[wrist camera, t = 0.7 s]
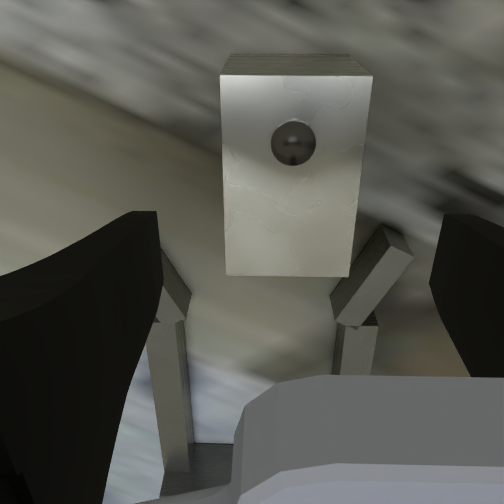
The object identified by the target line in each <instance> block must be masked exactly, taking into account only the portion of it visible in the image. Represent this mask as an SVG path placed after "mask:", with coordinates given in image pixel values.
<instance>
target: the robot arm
mask: <svg viewBox="0 0 504 504" xmlns="http://www.w3.org/2000/svg"><path fill="white" fill-rule="evenodd" d="M163 282H164V276H163V267H162V258H161V249H160V240H159V230H158V221H157V212H156V211H131V212H129V213H126V214H124V215H122V216H121V217H119V218H117V219H115V220H114V221H112V222H110V223H109V224H107V225H105V226H103V227H102V228H100V229H98V230H97V231H95V232H93V233H92V234H90V235H88V236H86V237H85V238H83V239H81V240H79V241H77V242H76V243H74V244H72V245H70V246H68V247H66V248H64V249H62V250H60V251H59V252H57V253H55V254H53V255H51V256H49V257H47V258H44V259H42V260H40V261H38V262H36V263H33V264H31V265H28V266H26V267H23V268H21V269H18V270H16V271H13V272H11V273H8V274H5V275H2V276H0V504H102V501H103V497H104V492H105V487H106V482H107V477H108V472H109V468H110V463H111V459H112V454H113V450H114V446H115V441H116V437H117V432H118V428H119V424H120V420H121V416H122V412H123V408H124V404H125V400H126V396H127V393H128V390H129V386H130V383H131V380H132V377H133V375H134V372H135V369H136V367H137V364H138V362H139V359H140V356H141V354H142V351H143V348H144V346H145V343H146V341H147V338H148V335H149V333H150V330H151V327H152V324H153V322H154V319H155V316H156V313H157V311H158V306H159V302H160V297H161V292H162V287H163ZM429 285H430V288H431V291H432V295H433V298H434V301H435V304H436V307H437V310H438V313H439V315H440V317H441V319H442V321H443V324H444V325H445V327H446V329H447V331H448V333H449V335H450V337H451V339H452V341H453V343H454V345H455V347H456V349H457V351H458V353H459V355H460V356H461V358H462V360H463V362H464V364H465V366H466V368H467V370H468V372H469V374H470V376H471V377H422V376H364V375H319V376H313V377H308V378H302V379H296V380H291V381H285V382H280V383H277V384H275V385H274V386H272V387H271V388H270V389H268V390H267V391H265V392H264V393H262V394H261V395H260V396H258V397H257V398H255V399H254V400H252V401H251V402H249V403H248V404H247V405H245V407H244V410H243V412H242V415H241V418H240V421H239V423H238V426H237V429H236V431H235V434H234V446H233V460H232V475H231V482H230V483H229V484H227V485H222V486H217V487H212V488H207V489H203V490H198V491H193V492H188V493H183V494H179V495H174V496H169V497H164V498H159V499H155V500H150V501H145V502H140V503H135V504H504V227H501V226H499V225H497V224H495V223H492V222H490V221H488V220H485V219H483V218H480V217H477V216H474V215H470V214H444V218H443V222H442V227H441V231H440V236H439V240H438V245H437V249H436V254H435V258H434V263H433V268H432V272H431V277H430V281H429Z"/></svg>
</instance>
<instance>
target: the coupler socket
mask: <svg viewBox="0 0 504 504" xmlns="http://www.w3.org/2000/svg"><path fill="white" fill-rule="evenodd" d="M160 249H161V248H160ZM161 258H162V267H163V276H164V282H163V287H162V292H161V297H160V302H159V306H158V311H157V313H156V316H155V319H154V322H153V324H152V327H151V330H150V333H149V335H148V338H147V341H146V347H147V354H148V361H149V368H150V375H151V381H152V388H153V395H154V402H155V409H156V416H157V423H158V430H159V437H160V444H161V451H162V458H163V465H164V477H163V482H162V487H161V491H160V498H164V497H169V496H174V495H179V494H183V493H188V492H193V491H198V490H203V489H207V488H212V487H217V486H222V485H227V484H229V483H230V482H231V475H232V460H233V446H234V444H195V442H194V431H193V420H192V409H191V398H190V387H189V376H188V365H187V354H186V343H185V332H184V321H183V320H184V319H186V316H187V312H188V307H189V303H190V299H191V295H192V294H191V292H190V291H189V289H188V288H187V286H186V285H185V283H184V282H183V280H182V279H181V278H180V276H179V275H178V273H177V272H176V270H175V269H174V267H173V266H172V264H171V263H170V261H169V260H168V258H167V257H166V255H165V254H164V252H163V251H162V249H161ZM413 258H414V255H413V253H412V251H411V250H410V248H409V246H408V244H407V242H406V240H405V238H404V237H403V235H401V234H399V233H397V232H395V231H393V230H391V229H389V228H387V227H385V226H383V225H380V227H379V228H378V229H377V231H376V232H375V234H374V235H373V236H372V238H371V239H370V241H369V242H368V243H367V245H366V246H365V248H364V249H363V250H362V252H361V253H360V255H359V256H358V257H357V259H356V260H355V262H354V263H353V264H352V266H351V267H350V270H349V277H343V278H342V280H341V281H340V283H339V284H338V285H337V287H336V288H335V290H334V291H333V292H332V294H331V295H330V300H331V305H332V309H333V314H334V319H335V321H336V322H338V324H337V333H336V342H335V351H334V360H333V369H332V375H364V376H370V374H371V368H372V362H373V356H374V350H375V344H376V338H377V332H378V323H377V320H376V317H375V314H374V311H373V309H374V308H375V307H376V306H377V304H378V303H379V302H380V300H381V299H382V298H383V297H384V295H385V294H386V293H387V292H388V290H389V289H390V288H391V286H392V285H393V284H394V283H395V281H396V280H397V279H398V278H399V276H400V275H401V274H402V272H403V271H404V270H405V269H406V267H407V266H408V265H409V264H410V262H411V261H412V260H413Z"/></svg>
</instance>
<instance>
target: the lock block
mask: <svg viewBox="0 0 504 504" xmlns="http://www.w3.org/2000/svg"><path fill="white" fill-rule="evenodd" d="M372 80H373V76H372V75H371V74H370V73H369V72H368V71H367V70H365V69H364V68H363V67H362V66H361V65H360V64H359V63H357V62H356V61H355V60H354V59H353V58H352V57H351V56H349V55H348V54H230V56H229V58H228V60H227V62H226V64H225V66H224V68H223V70H222V72H221V74H220V96H221V128H222V160H223V193H224V225H225V257H226V275H236V276H303V277H349V270H350V261H351V253H352V245H353V237H354V228H355V220H356V212H357V204H358V196H359V187H360V179H361V171H362V163H363V154H364V146H365V138H366V130H367V121H368V113H369V105H370V97H371V88H372Z"/></svg>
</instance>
